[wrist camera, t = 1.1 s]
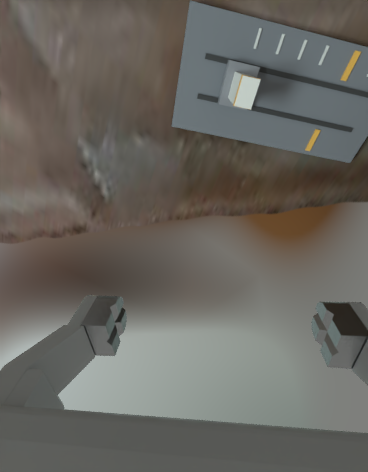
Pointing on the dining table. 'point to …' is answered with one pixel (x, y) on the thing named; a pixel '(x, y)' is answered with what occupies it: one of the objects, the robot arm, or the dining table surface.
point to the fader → (239, 85)
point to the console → (274, 84)
